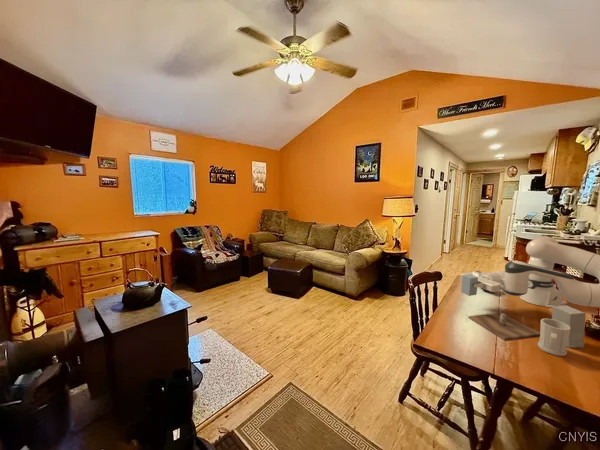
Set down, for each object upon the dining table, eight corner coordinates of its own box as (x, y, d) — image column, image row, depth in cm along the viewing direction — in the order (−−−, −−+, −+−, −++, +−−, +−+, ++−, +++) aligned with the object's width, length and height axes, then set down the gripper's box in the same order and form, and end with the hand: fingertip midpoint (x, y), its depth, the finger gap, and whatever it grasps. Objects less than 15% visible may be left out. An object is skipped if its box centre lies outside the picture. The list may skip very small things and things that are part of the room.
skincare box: (583, 348, 107) (589, 313, 105) (566, 348, 107) (571, 313, 105) (563, 336, 115) (568, 304, 113) (547, 336, 115) (552, 304, 113)
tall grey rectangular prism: (468, 291, 141) (469, 274, 140) (476, 294, 136) (478, 277, 135) (461, 292, 140) (462, 275, 138) (469, 295, 135) (470, 278, 134)
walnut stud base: (500, 314, 136) (502, 302, 135) (540, 335, 116) (542, 322, 115) (468, 317, 133) (469, 306, 132) (503, 340, 113) (505, 326, 112)
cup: (576, 360, 100) (580, 333, 98) (549, 358, 101) (553, 330, 100) (555, 344, 110) (559, 319, 108) (531, 342, 112) (534, 317, 110)
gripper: (506, 293, 131) (485, 296, 127) (471, 279, 150) (452, 282, 147) (507, 281, 130) (486, 284, 126) (472, 269, 149) (453, 272, 146)
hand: (468, 283), depth 137 cm, fingers closed on tall grey rectangular prism, 5 cm apart
